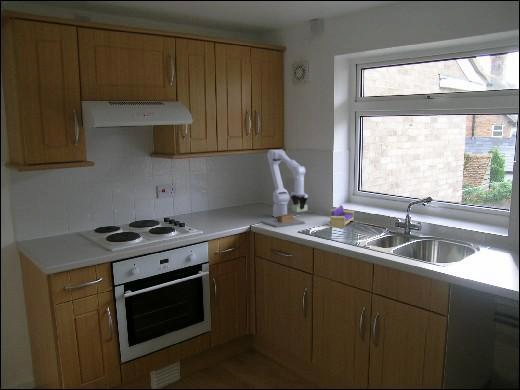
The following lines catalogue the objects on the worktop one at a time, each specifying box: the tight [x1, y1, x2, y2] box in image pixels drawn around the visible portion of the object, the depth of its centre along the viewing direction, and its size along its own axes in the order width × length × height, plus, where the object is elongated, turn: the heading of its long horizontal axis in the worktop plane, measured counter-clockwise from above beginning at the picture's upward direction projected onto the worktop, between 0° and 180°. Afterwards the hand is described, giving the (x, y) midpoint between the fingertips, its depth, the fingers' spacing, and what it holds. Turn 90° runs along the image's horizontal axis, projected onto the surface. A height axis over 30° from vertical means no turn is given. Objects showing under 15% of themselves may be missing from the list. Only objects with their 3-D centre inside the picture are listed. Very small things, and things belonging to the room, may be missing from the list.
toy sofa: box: [329, 204, 355, 229], centre depth 269 cm, size 21×9×10 cm, turn 153°
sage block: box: [291, 203, 309, 213], centre depth 278 cm, size 6×8×4 cm
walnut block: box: [276, 213, 294, 223], centre depth 274 cm, size 6×8×4 cm
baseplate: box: [260, 218, 305, 228], centre depth 275 cm, size 18×20×1 cm
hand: (299, 208), depth 278 cm, fingers closed on sage block, 5 cm apart
